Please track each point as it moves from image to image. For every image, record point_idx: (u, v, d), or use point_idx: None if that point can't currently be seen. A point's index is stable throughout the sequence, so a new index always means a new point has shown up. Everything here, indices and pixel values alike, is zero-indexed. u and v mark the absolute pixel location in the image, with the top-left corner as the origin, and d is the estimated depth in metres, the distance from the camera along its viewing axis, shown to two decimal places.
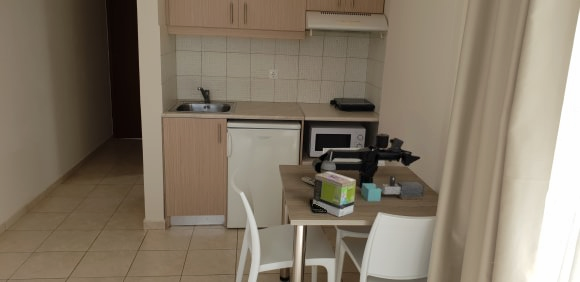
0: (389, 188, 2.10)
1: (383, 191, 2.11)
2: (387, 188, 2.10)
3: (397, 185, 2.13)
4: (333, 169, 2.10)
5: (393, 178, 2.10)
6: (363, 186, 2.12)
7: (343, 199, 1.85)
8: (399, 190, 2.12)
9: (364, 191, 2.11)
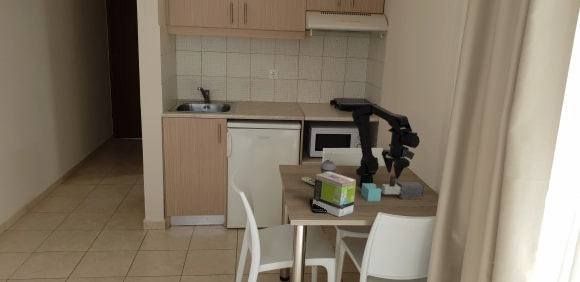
0: (389, 188, 2.10)
1: (383, 191, 2.11)
2: (387, 188, 2.10)
3: (397, 185, 2.13)
4: (333, 169, 2.10)
5: (393, 178, 2.10)
6: (363, 186, 2.12)
7: (343, 199, 1.85)
8: (399, 190, 2.12)
9: (364, 191, 2.11)
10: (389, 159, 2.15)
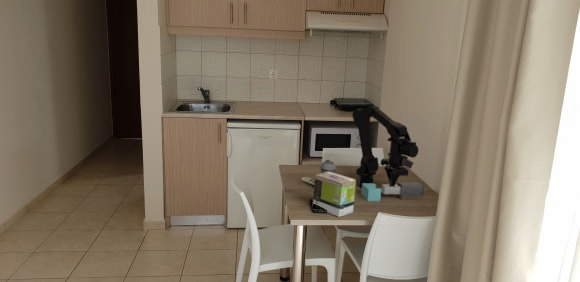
0: (389, 188, 2.10)
1: (383, 191, 2.11)
2: (387, 188, 2.10)
3: (397, 185, 2.13)
4: (333, 169, 2.10)
5: None
6: (363, 186, 2.12)
7: (343, 199, 1.85)
8: (399, 190, 2.12)
9: (364, 191, 2.11)
10: (391, 170, 2.12)
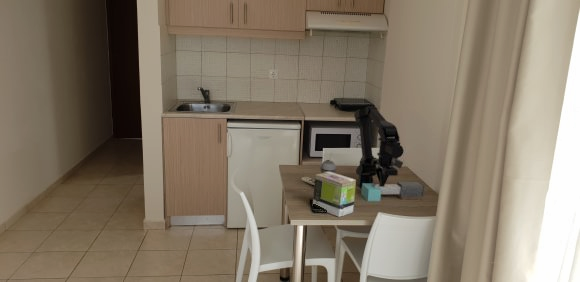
0: None
1: None
2: None
3: (387, 185, 2.12)
4: (333, 169, 2.10)
5: None
6: (363, 186, 2.12)
7: (343, 199, 1.85)
8: (389, 190, 2.11)
9: (364, 191, 2.11)
10: (380, 170, 2.11)
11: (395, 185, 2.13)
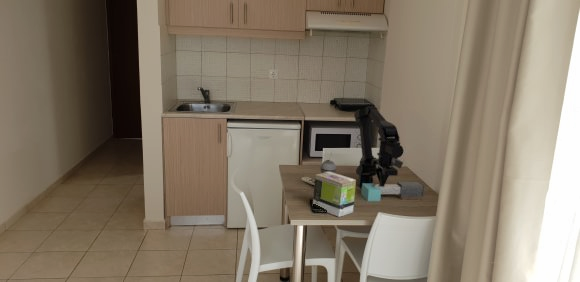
0: None
1: None
2: None
3: (387, 185, 2.12)
4: (333, 169, 2.10)
5: None
6: (363, 186, 2.12)
7: (343, 199, 1.85)
8: (389, 190, 2.11)
9: (364, 191, 2.11)
10: (380, 170, 2.11)
11: (395, 185, 2.13)
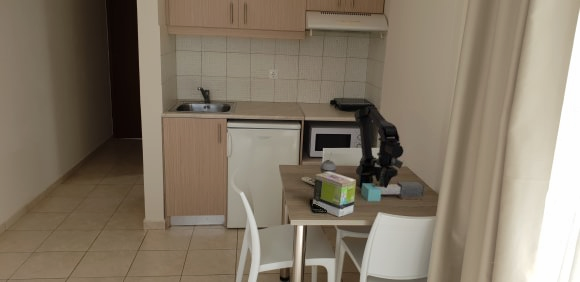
0: None
1: None
2: None
3: None
4: (333, 169, 2.10)
5: None
6: (363, 186, 2.12)
7: (343, 199, 1.85)
8: (389, 190, 2.11)
9: (364, 191, 2.11)
10: (378, 168, 2.15)
11: (396, 185, 2.13)
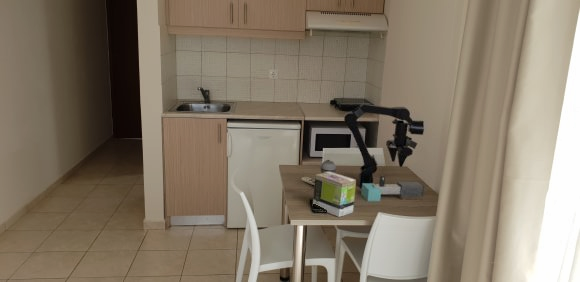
0: None
1: None
2: None
3: (387, 185, 2.12)
4: (333, 169, 2.10)
5: (383, 178, 2.09)
6: (363, 186, 2.12)
7: (343, 199, 1.85)
8: (389, 190, 2.11)
9: (364, 191, 2.11)
10: (393, 149, 2.27)
11: (396, 185, 2.13)
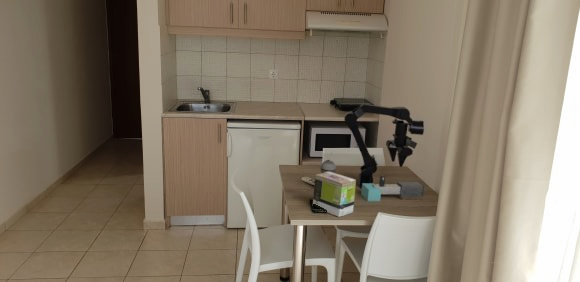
0: None
1: None
2: None
3: (387, 185, 2.12)
4: (333, 169, 2.10)
5: (383, 178, 2.09)
6: (363, 186, 2.12)
7: (343, 199, 1.85)
8: (389, 190, 2.11)
9: (364, 191, 2.11)
10: (393, 149, 2.27)
11: (396, 185, 2.13)
